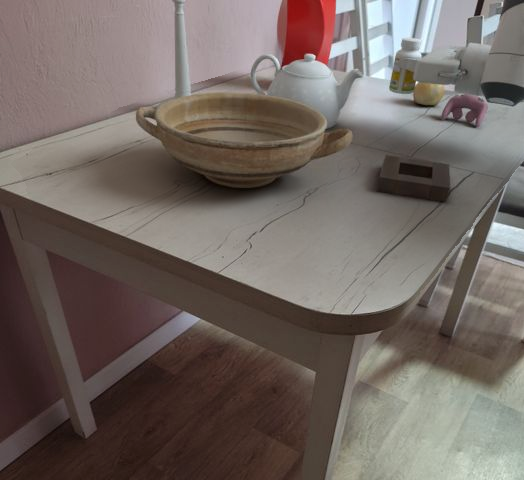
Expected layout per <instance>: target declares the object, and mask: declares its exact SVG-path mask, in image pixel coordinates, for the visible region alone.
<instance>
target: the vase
mask: <svg viewBox="0 0 524 480" xmlns="http://www.w3.org/2000/svg"><path fill="white" fill-rule="evenodd" d="M336 14H337V0H281V3H280V6H279V10H278V15H277V21H276V38H277V39H276V40H277V44H278V45H277V46H278V50H279V54H280V58H281V64H280V69H281V70H282V67H283V66H286V65H289V64H290V63H292V62H294V61H296V60H304V59H305V58H304V55H305V54H313V55H315V57H316V58H315V61H319V62H321V63H323V64H325V65H326V66H327V67H328V64H329V61H330V55H331V51H332V46H333V40H334V33H335V25H336Z"/></svg>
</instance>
